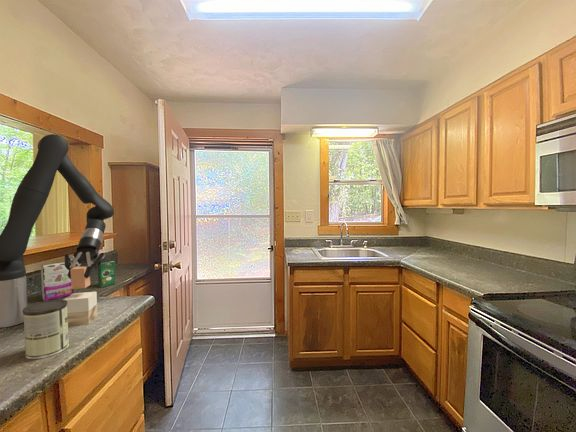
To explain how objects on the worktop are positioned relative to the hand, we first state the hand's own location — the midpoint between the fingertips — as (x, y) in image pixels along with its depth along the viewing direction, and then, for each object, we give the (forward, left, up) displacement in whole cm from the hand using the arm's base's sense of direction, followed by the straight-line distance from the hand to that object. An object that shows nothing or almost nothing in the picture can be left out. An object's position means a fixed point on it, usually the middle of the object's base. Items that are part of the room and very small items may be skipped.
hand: (78, 277), depth 105 cm
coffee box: (+23, +48, -17) cm, 56 cm away
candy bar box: (+1, +44, -17) cm, 47 cm away
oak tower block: (+1, +1, -17) cm, 17 cm away
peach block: (+1, +2, -4) cm, 5 cm away
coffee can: (-12, -17, -17) cm, 27 cm away
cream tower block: (+1, +1, -12) cm, 13 cm away
